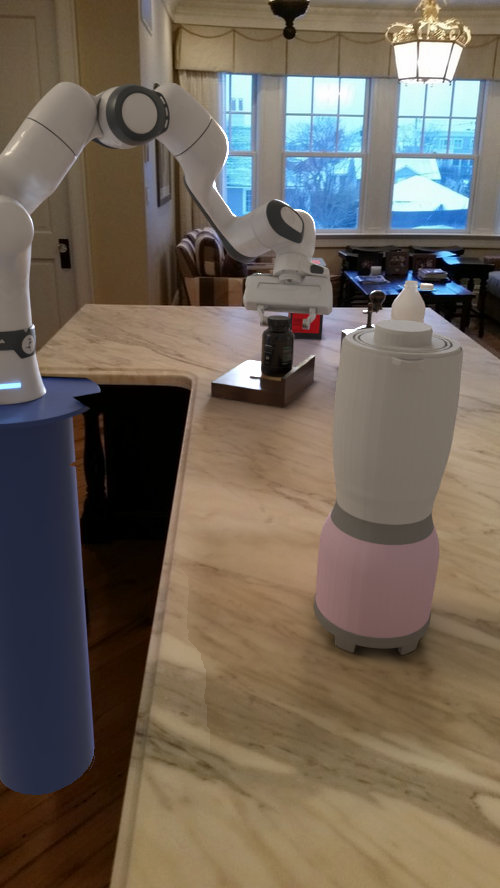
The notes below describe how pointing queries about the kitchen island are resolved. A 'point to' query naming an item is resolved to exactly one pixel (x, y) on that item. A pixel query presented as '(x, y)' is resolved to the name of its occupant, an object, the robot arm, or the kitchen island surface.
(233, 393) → the shelf
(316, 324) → the cleaning product box
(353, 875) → the kitchen island surface
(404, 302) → the water bottle
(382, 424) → the blender
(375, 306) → the coffee grinder
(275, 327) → the supplement bottle
